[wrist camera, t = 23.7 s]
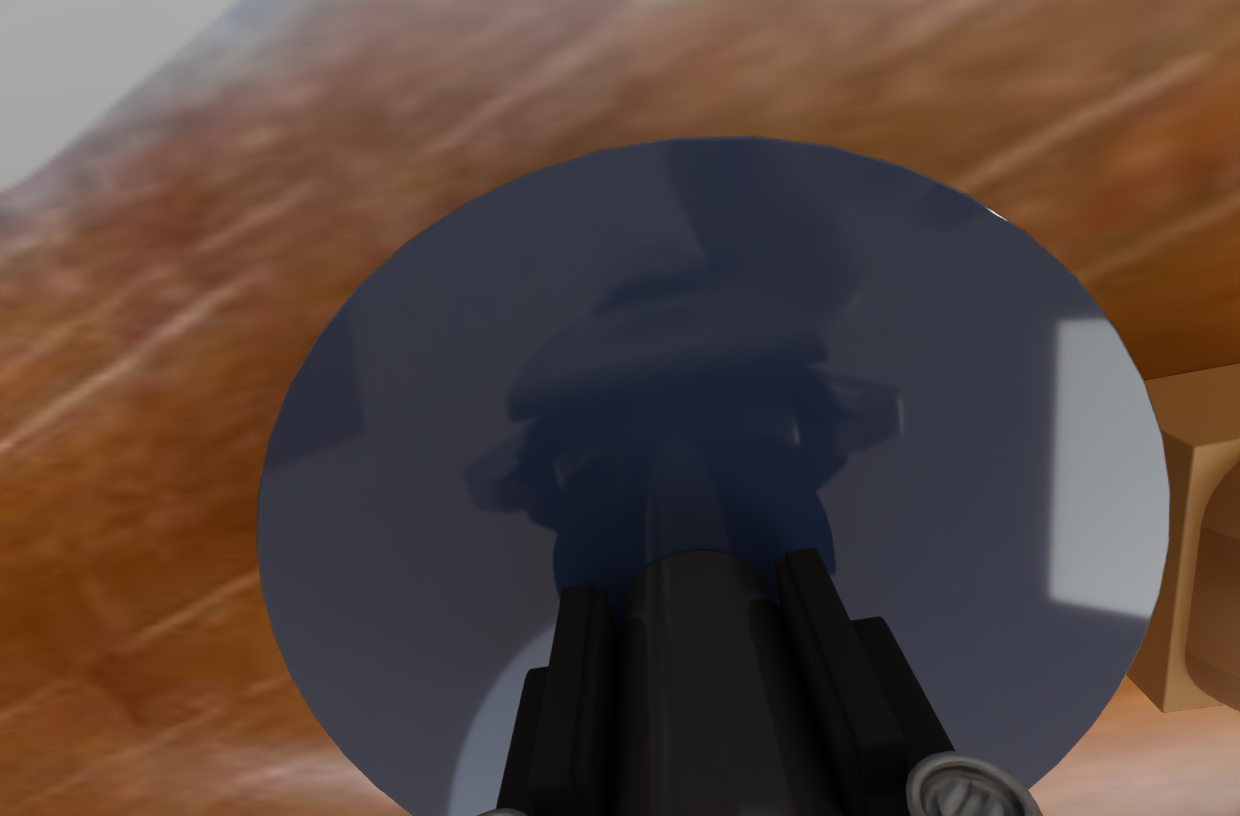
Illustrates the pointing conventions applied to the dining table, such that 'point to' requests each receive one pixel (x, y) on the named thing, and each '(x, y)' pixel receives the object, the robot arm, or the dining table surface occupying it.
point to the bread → (1197, 547)
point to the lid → (710, 474)
